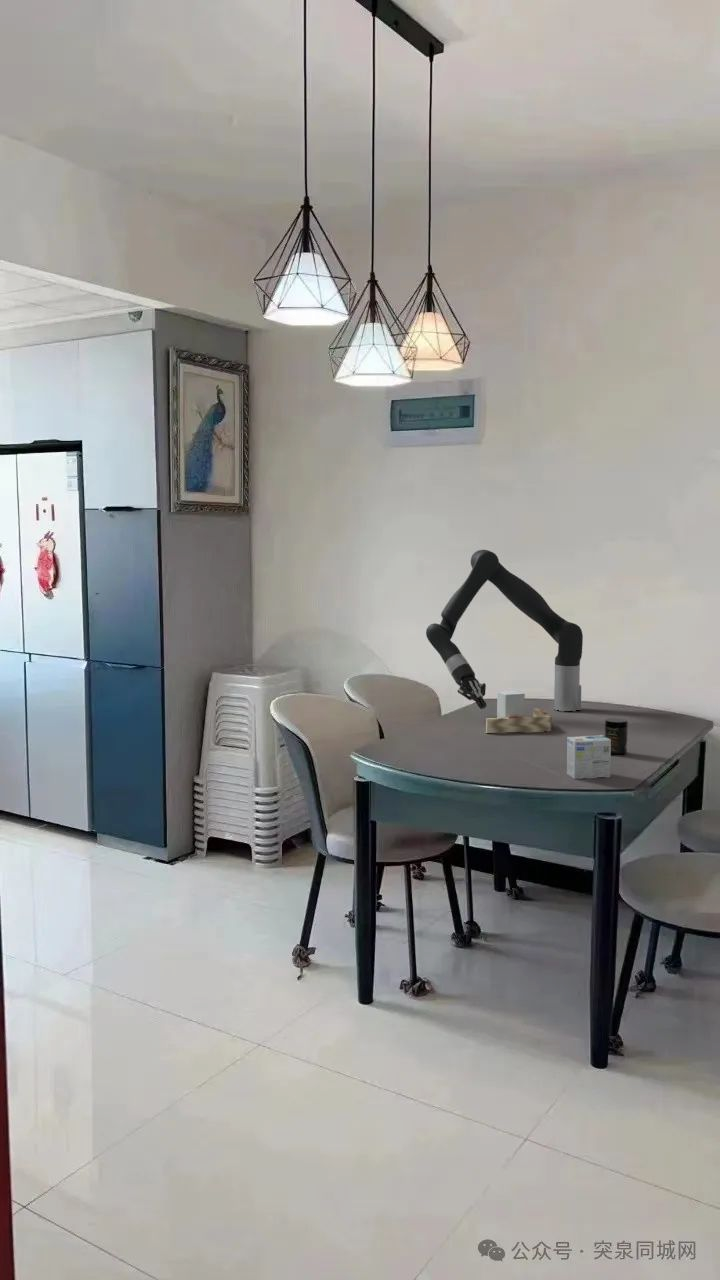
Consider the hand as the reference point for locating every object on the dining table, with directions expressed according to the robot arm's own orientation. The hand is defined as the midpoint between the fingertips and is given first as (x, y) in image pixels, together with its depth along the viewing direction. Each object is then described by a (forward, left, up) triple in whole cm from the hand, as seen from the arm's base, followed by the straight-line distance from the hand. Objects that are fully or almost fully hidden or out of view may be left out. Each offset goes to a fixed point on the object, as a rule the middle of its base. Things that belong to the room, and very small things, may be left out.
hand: (483, 707), depth 346 cm
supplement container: (-27, +52, -6) cm, 59 cm away
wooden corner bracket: (-7, +10, -6) cm, 13 cm away
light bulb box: (-9, +76, -6) cm, 77 cm away
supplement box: (-6, +11, -6) cm, 14 cm away
